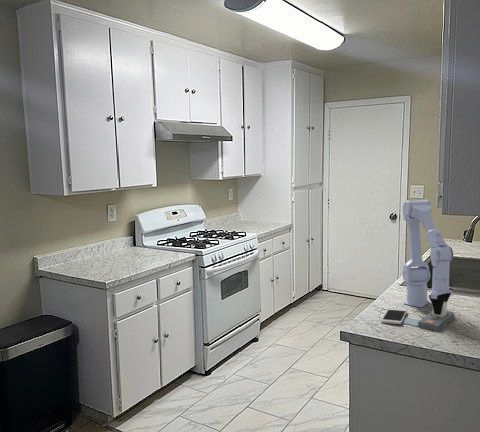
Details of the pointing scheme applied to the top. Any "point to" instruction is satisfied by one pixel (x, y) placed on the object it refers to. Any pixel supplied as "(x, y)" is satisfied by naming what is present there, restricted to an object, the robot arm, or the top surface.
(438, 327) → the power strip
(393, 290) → the top surface
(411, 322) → the sticky note
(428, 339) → the top surface
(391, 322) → the smartphone
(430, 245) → the robot arm
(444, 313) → the charger plug
